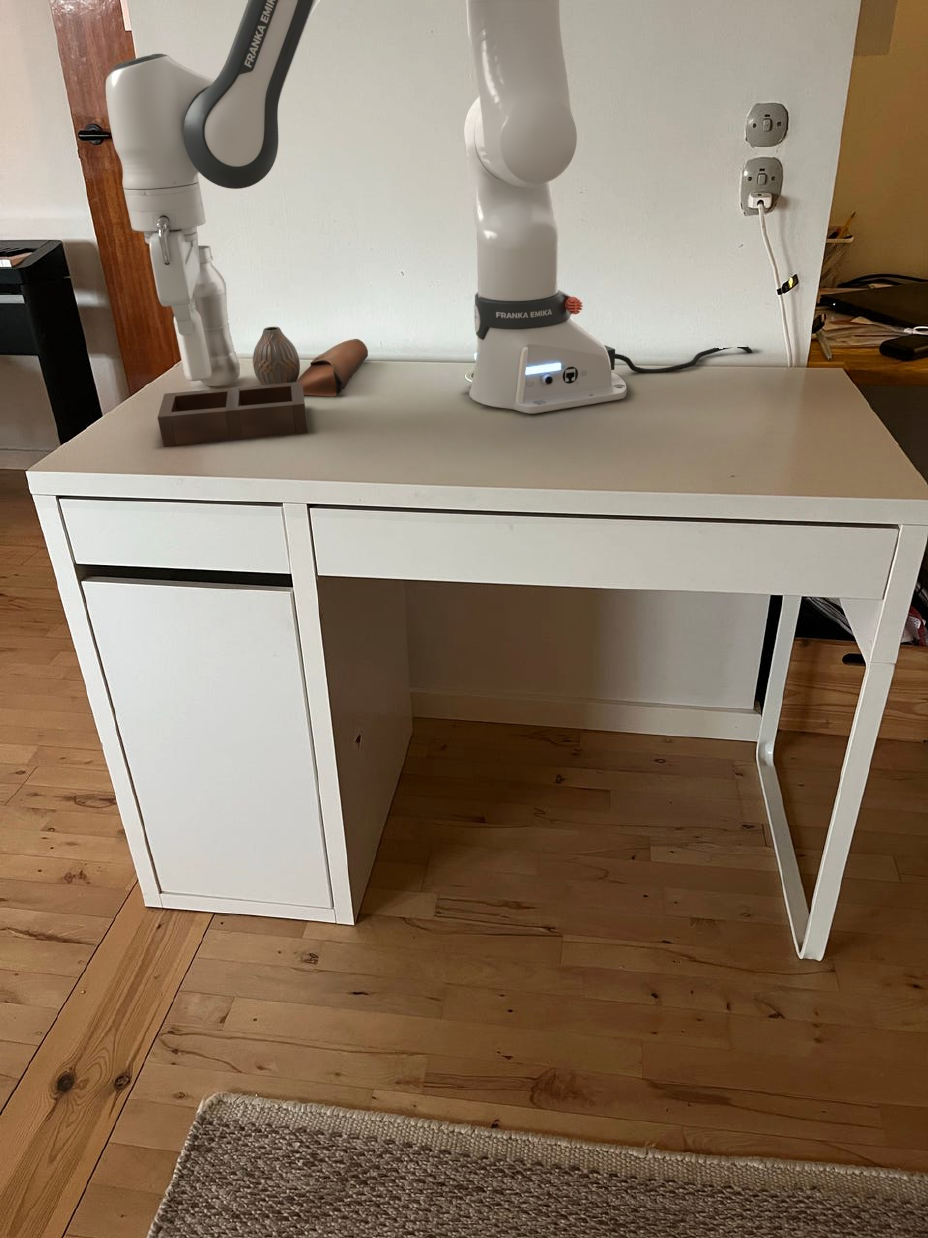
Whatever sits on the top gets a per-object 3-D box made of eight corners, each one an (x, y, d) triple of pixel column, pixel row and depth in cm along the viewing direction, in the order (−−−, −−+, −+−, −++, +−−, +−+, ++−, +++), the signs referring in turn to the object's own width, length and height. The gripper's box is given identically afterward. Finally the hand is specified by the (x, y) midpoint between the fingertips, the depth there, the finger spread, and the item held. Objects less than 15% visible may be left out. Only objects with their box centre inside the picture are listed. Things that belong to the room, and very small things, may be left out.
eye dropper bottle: (173, 382, 124) (153, 286, 118) (192, 369, 129) (174, 276, 123) (204, 382, 123) (186, 286, 117) (222, 369, 128) (205, 276, 122)
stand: (305, 409, 136) (301, 381, 134) (308, 432, 127) (304, 403, 125) (169, 421, 133) (164, 393, 131) (163, 446, 125) (157, 416, 123)
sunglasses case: (317, 358, 156) (334, 322, 153) (356, 380, 157) (373, 345, 154) (287, 393, 141) (305, 354, 138) (330, 416, 142) (349, 378, 139)
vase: (293, 394, 142) (285, 334, 138) (249, 393, 143) (240, 334, 139) (308, 380, 148) (301, 322, 143) (266, 379, 149) (258, 322, 145)
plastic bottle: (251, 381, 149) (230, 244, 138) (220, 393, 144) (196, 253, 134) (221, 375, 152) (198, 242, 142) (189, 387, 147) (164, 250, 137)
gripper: (187, 221, 107) (210, 344, 114) (197, 198, 125) (217, 307, 132) (129, 225, 106) (156, 350, 114) (148, 202, 124) (170, 311, 131)
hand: (189, 326), depth 123 cm, fingers closed on eye dropper bottle, 5 cm apart
